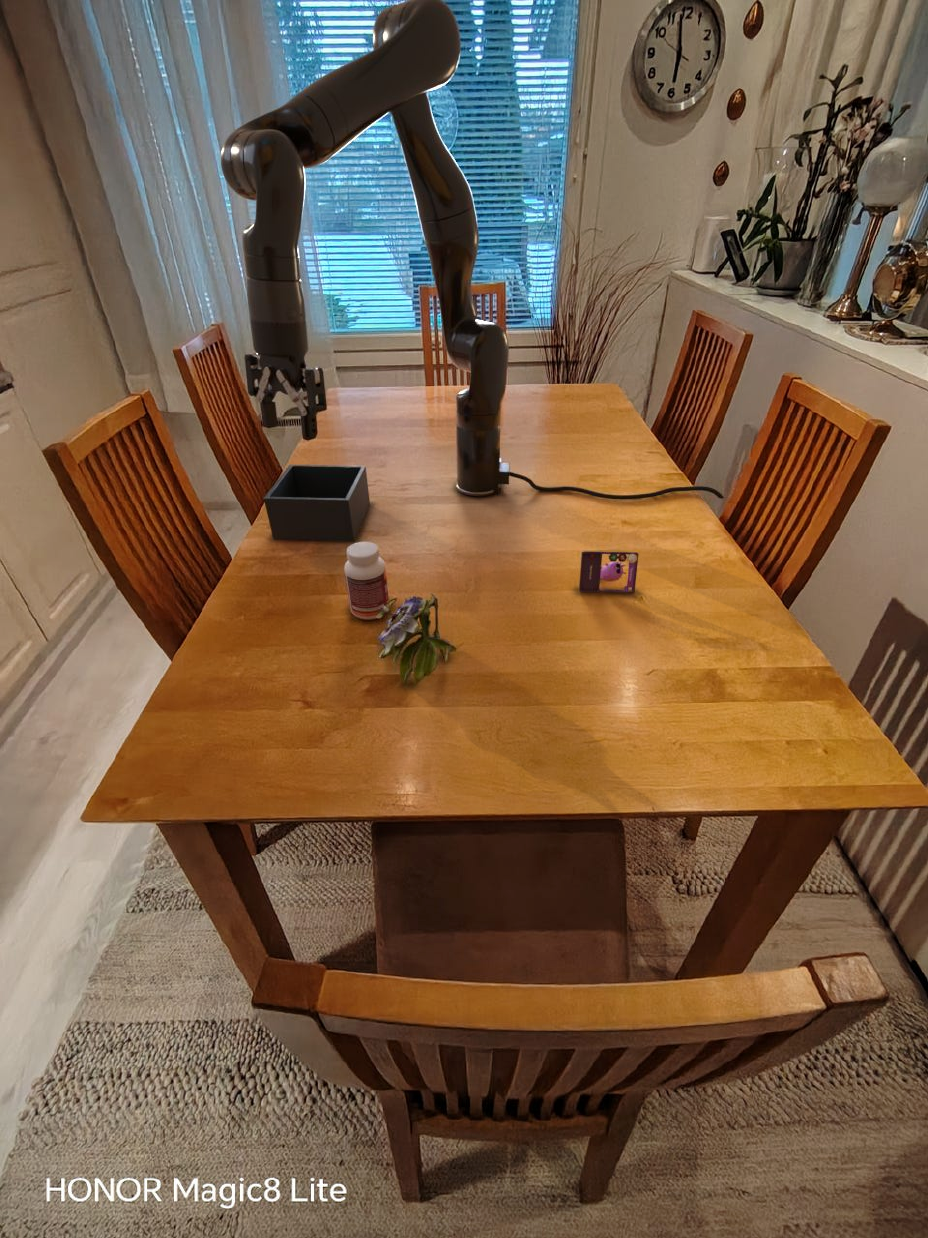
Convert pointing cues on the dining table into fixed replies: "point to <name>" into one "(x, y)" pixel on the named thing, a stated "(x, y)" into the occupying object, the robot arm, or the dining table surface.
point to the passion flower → (405, 629)
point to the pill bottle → (365, 580)
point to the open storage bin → (318, 503)
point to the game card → (606, 570)
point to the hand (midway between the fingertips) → (289, 432)
